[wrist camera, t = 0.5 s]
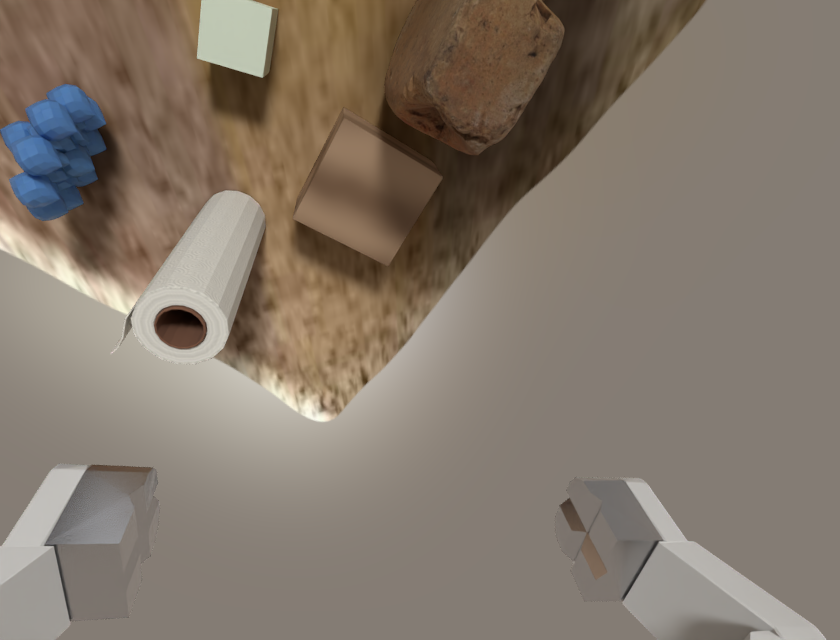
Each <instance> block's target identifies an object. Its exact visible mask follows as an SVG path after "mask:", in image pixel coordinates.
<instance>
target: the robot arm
mask: <svg viewBox="0 0 840 640" xmlns="http://www.w3.org/2000/svg"><path fill="white" fill-rule="evenodd" d="M157 484H158V480H157V471H156V469H155V468H150V467H129V466H107V465H74V464H58V465H57V466H56V467H54V468H53V469H52V470H51V471H50V472H49V474H48V475H47V477H46V478H45V480H44V481H43V483H42V484H41V486H40V488H39V489H38V491H37V492H36V494H35V495H34V497H33V499H32V500H31V502H30V503H29V505H28V506H27V508H26V509H25V511H24V512H23V514H22V516H21V517H20V519H19V521H18V522H17V523H16V525H15V526H14V528H13V530H12V531H11V533H10V534H9V536H8V538H7V539H6V541H5V542H4V544H3V545H2V546H0V640H55V639H57V638H58V637H59V636H60V635H61V634H62V633H63V631H64V630H66V629H67V628H68V627H69V626H70V621H81V620H98V619H114V618H129V616H130V613H131V610H132V607H133V604H134V602H135V599H136V596H137V593H138V590H139V587H140V584H141V582H142V572H141V563H143V562H144V561H145V560H146V559H147V558H149V557H150V556H151V552H152V549H153V546H154V543H155V540H156V534H157V530H158V525H159V513H160V507H159V500H157V499H156V498H155V497H154V496H153V495H154V492H155V490H156V487H157ZM566 491H567V493H568V495H569V499H567V500H566V501H565V502H563V503H562V504H561V505H559V508H558V511H557V513H556V516H555V532H556V537H557V541H558V543H559V545H560V548H561V550H562V552H563V553H564V554H566V555H567V556H568V557H569V558H570V559H571V560H572V561H573V563H572V567H571V573H572V575H573V577H574V579H575V582H576V584H577V586H578V588H579V591H580V593H581V595H582V597H583V599H584V601H623V603H622V604H623V605H624V606H625V607H626V608H627V609H628V610H629V611H630V612H631V613H632V614H633V615H634V616H635V617H636V618H637V619H638V620H639V621H640V622H641V623H642V624H643V625H644V626H645V628H647V630H648V631H649V632H650V633H651V634H652V635H653V636H654V637H655V638H656V639H657V640H826V639H825V637H824V636H823V635H822V633H821V632H820V631H819V630H818V629H817V627H816V626H814V625H813V624H811V623H810V622H808V621H807V620H806V619H804V618H803V617H801V616H800V615H798V614H797V613H796V612H794V611H793V610H791V609H790V608H788V607H787V606H786V605H784V604H783V603H781V602H780V601H779V600H777V599H776V598H774V597H773V596H771V595H770V594H769V593H767V592H766V591H764V590H763V589H761V588H760V587H758V586H757V585H756V584H754V583H753V582H751V581H750V580H748V579H747V578H746V577H744V576H743V575H741V574H740V573H738V572H737V571H736V570H734V569H733V568H731V567H730V566H729V565H727V564H726V563H724V562H723V561H721V560H720V559H719V558H717V557H716V556H714V555H713V554H711V553H710V552H709V551H707V550H706V549H704V548H703V547H701V546H700V545H699V544H697V543H696V542H692V541H690V542H689V541H687V540H686V538H685V537H684V536H683V534H682V532H681V531H680V530H679V528H678V527H677V525H676V524H675V523H674V521H673V520H672V518H671V517H670V516H669V514H668V513H667V511H666V510H665V508H664V507H663V506H662V504H661V503H660V501H659V500H658V498H657V497H656V496H655V494H654V493H653V491H652V490H651V489H650V487H649V486H648V484H647V483H646V482H645V481H643V480H642V479H640V478H593V477H592V478H590V477H588V478H587V477H575V478H574V479H573V480H572V481H570V483H569V486H568V487H567V490H566Z"/></svg>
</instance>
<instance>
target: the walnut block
mask: <svg viewBox="0 0 840 640" xmlns="http://www.w3.org/2000/svg"><path fill="white" fill-rule="evenodd" d="M442 179H443V177H442V175H441V173H440V172H439V170H438V169H437V167H436V166H435V164H434V163H433V161H431V160H429V159H428V158H426V157H424V156H423V155H421V154H420V153H418V152H416V151H415V150H413V149H411V148H410V147H408V146H406V145H405V144H403V143H402V142H400V141H398V140H397V139H395V138H393V137H392V136H390V135H388V134H387V133H385V132H384V131H382V130H380V129H379V128H377V127H375V126H374V125H372V124H370V123H369V122H367V121H366V120H364V119H362V118H361V117H359V116H357V115H356V114H354V113H352V112H351V111H349V110H348V109H346V108H344V107H343V109H342V111H341V113H340V115H339V117H338V119H337V121H336V123H335V125H334V127H333V129H332V131H331V133H330V135H329V137H328V139H327V140H326V142H325V144H324V146H323V148H322V150H321V152H320V154H319V156H318V158H317V160H316V162H315V164H314V166H313V168H312V170H311V172H310V174H309V176H308V178H307V180H306V182H305V184H304V186H303V188H302V190H301V192H300V194H299V196H298V198H297V201H296V206H295V211H294V215H293V219H294V220H296V221H298V222H300V223H302V224H304V225H306V226H308V227H310V228H312V229H314V230H316V231H318V232H320V233H322V234H324V235H326V236H328V237H330V238H332V239H334V240H336V241H338V242H340V243H342V244H344V245H346V246H348V247H350V248H352V249H354V250H356V251H358V252H360V253H362V254H364V255H366V256H368V257H370V258H372V259H374V260H376V261H378V262H380V263H382V264H384V265H386V266H389V264H390V263H391V261H392V259H393V258H394V256H395V254H396V253H397V251H398V250H399V248H400V246H401V245H402V243H403V242H404V240H405V238H406V237H407V235H408V233H409V232H410V230H411V229H412V227H413V225H414V224H415V222H416V221H417V219H418V217H419V216H420V214H421V212H422V211H423V209H424V208H425V206H426V204H427V203H428V201H429V200H430V198H431V196H432V195H433V193H434V191H435V190H436V188H437V187H438V185H439V183H440V182H441V180H442Z"/></svg>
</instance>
